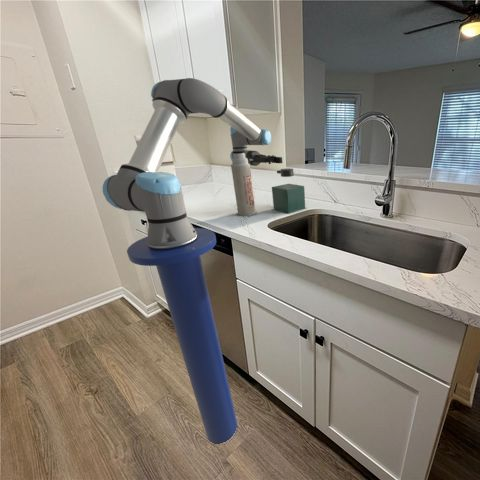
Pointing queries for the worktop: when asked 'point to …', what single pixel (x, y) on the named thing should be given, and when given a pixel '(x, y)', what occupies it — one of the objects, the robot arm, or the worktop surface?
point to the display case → (164, 160)
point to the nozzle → (286, 172)
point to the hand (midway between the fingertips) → (281, 160)
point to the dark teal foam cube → (288, 198)
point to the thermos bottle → (242, 184)
